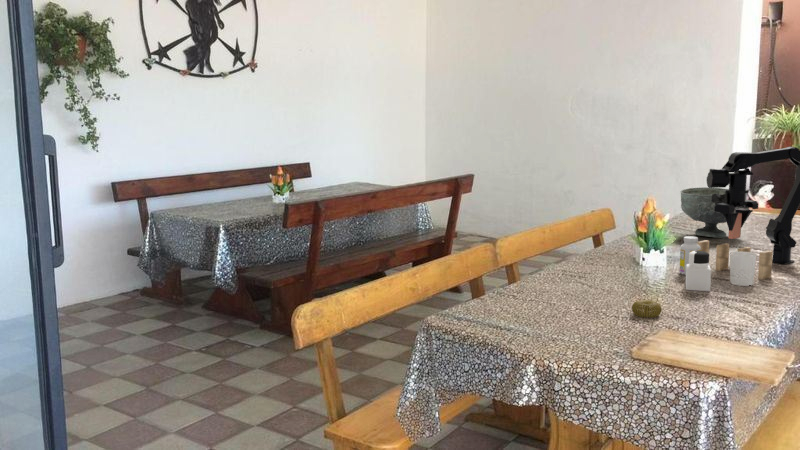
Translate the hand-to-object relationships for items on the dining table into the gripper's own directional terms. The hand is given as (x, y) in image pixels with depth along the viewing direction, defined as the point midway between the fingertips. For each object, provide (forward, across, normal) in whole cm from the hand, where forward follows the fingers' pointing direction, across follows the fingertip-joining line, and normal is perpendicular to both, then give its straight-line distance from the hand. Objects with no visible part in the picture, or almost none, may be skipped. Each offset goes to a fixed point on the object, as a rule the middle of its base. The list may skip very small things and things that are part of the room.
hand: (735, 229), depth 271 cm
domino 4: (+12, +13, +12) cm, 22 cm away
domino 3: (+3, 0, 0) cm, 3 cm away
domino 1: (+12, +13, -4) cm, 18 cm away
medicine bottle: (+13, +42, +15) cm, 46 cm away
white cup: (+13, +26, +20) cm, 35 cm away
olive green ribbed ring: (+13, +79, +25) cm, 84 cm away
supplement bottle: (+13, +27, +1) cm, 30 cm away
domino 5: (+12, +13, +20) cm, 27 cm away
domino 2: (+12, +13, +4) cm, 18 cm away
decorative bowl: (+12, -40, -37) cm, 56 cm away
